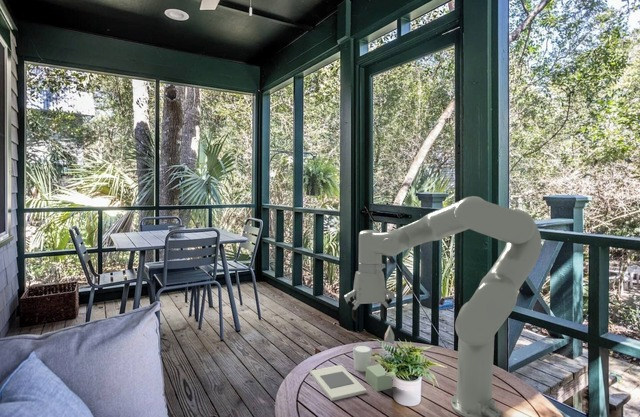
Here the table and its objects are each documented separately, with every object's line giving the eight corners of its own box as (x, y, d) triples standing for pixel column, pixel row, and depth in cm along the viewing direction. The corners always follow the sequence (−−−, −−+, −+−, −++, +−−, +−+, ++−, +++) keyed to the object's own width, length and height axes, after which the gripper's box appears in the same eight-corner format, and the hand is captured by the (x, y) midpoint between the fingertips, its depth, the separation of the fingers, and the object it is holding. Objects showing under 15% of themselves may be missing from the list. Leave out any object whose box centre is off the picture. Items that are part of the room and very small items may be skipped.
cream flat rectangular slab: (366, 392, 117) (366, 389, 117) (331, 401, 112) (331, 397, 112) (340, 367, 134) (340, 364, 134) (309, 373, 129) (309, 370, 129)
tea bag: (393, 349, 149) (394, 325, 149) (393, 356, 143) (394, 331, 142) (384, 348, 150) (385, 324, 149) (383, 355, 143) (384, 330, 143)
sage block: (395, 387, 121) (395, 372, 121) (377, 392, 118) (377, 376, 118) (383, 377, 127) (383, 363, 127) (365, 381, 124) (365, 366, 124)
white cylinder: (371, 363, 137) (371, 345, 136) (372, 373, 130) (372, 353, 130) (352, 362, 137) (352, 344, 137) (352, 371, 131) (352, 352, 130)
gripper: (389, 264, 128) (389, 313, 129) (341, 266, 124) (341, 317, 125) (399, 269, 121) (398, 321, 122) (348, 271, 117) (347, 325, 118)
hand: (369, 319), depth 123 cm, fingers open, 9 cm apart
